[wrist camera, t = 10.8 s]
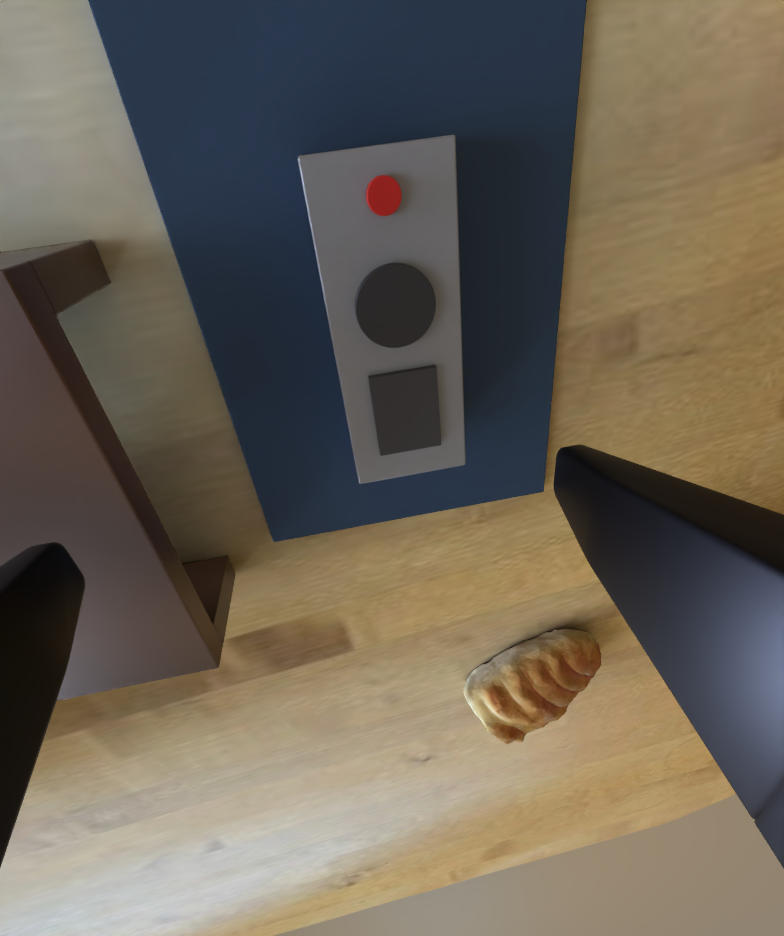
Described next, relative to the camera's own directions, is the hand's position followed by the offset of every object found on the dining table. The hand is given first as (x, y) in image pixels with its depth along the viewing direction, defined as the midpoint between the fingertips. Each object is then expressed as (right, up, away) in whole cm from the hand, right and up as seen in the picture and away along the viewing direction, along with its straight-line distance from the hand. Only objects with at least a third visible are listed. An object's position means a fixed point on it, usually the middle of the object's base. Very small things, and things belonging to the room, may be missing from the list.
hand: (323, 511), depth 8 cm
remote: (+1, +7, +10) cm, 12 cm away
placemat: (+1, +7, +10) cm, 12 cm away
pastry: (+10, -13, +25) cm, 30 cm away
